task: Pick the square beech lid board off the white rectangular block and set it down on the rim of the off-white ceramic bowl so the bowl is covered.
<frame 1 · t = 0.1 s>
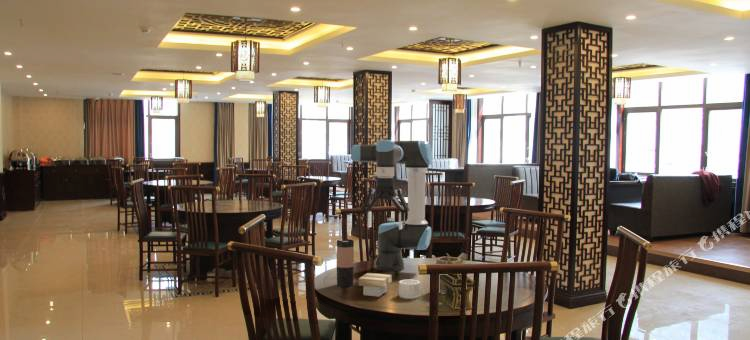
hand: (384, 228, 234), 28 cm above the table, fingers open, 13 cm apart
bowl: (409, 296, 233), on the table
travel mug: (345, 285, 251), on the table
tankard: (453, 290, 244), on the table
lid: (375, 283, 238), point 4 cm above the table, touching white rectangular block
white rectangular block: (375, 292, 238), on the table
decorative box: (455, 304, 223), on the table
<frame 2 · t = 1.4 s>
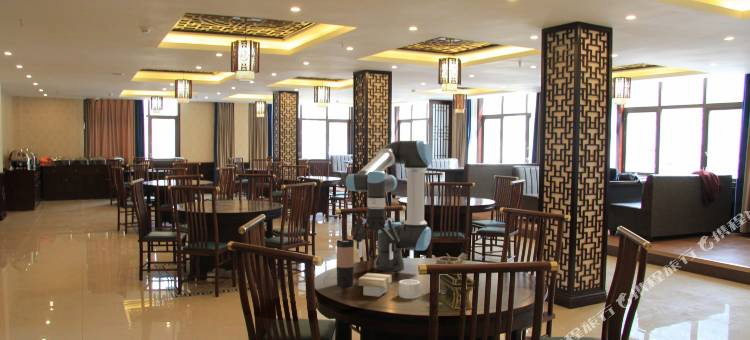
hand: (375, 258, 237), 15 cm above the table, fingers open, 13 cm apart
nothing on the table moved.
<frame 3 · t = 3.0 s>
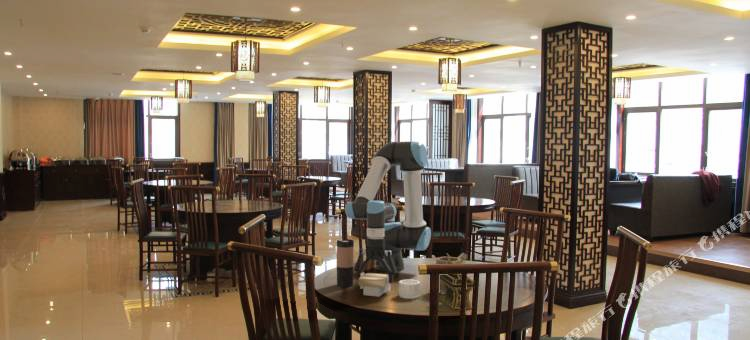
hand: (375, 289, 238), 2 cm above the table, fingers closed on lid, 11 cm apart
lid: (375, 283, 238), point 4 cm above the table, touching gripper, white rectangular block
everything else where it was.
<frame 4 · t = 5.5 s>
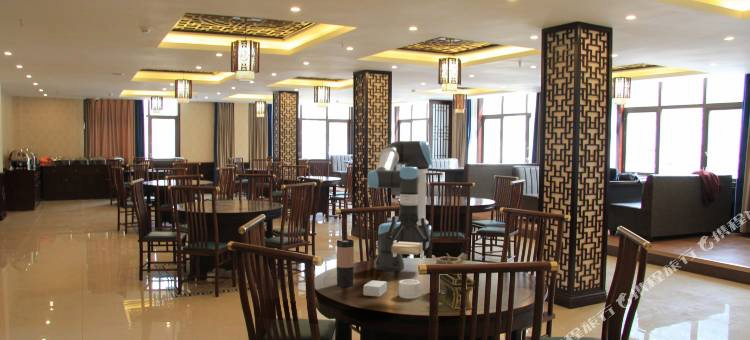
hand: (408, 257, 232), 16 cm above the table, fingers closed on lid, 11 cm apart
lid: (408, 251, 232), point 19 cm above the table, touching gripper
everything else where it was.
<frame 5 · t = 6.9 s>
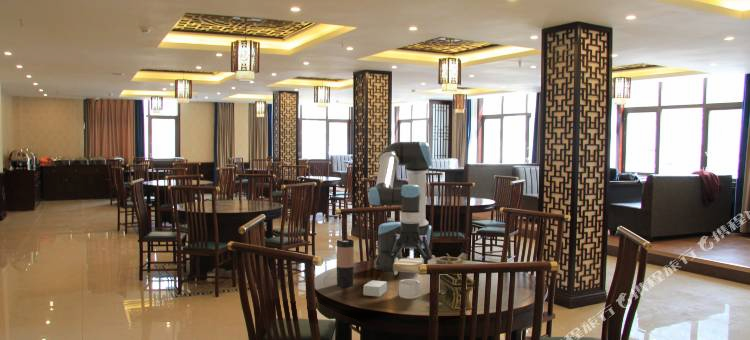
hand: (409, 275, 232), 9 cm above the table, fingers closed on lid, 11 cm apart
lid: (409, 269, 232), point 11 cm above the table, touching gripper
everything else where it was.
when the fingers open (5 cm above the table, at t = 8.2 s): lid drops 1 cm, resting on bowl.
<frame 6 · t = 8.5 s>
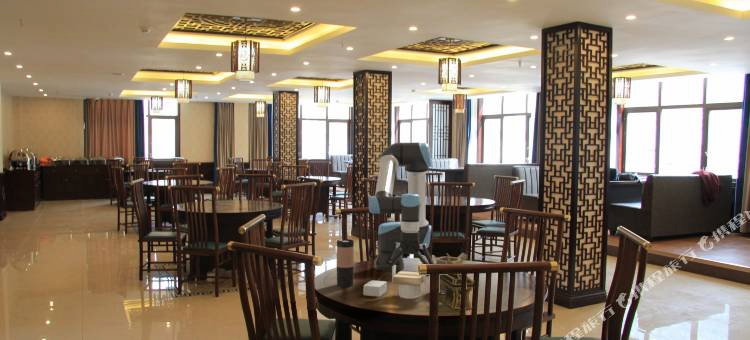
hand: (409, 282, 233), 6 cm above the table, fingers open, 13 cm apart
lid: (409, 281, 233), point 6 cm above the table, touching bowl
everything else where it was.
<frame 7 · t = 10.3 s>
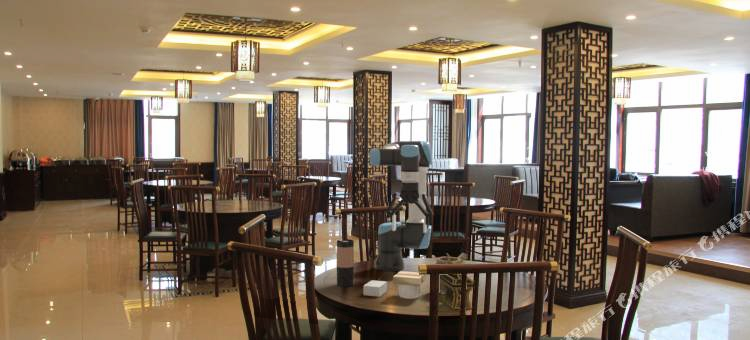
hand: (409, 231, 239), 26 cm above the table, fingers open, 13 cm apart
nothing on the table moved.
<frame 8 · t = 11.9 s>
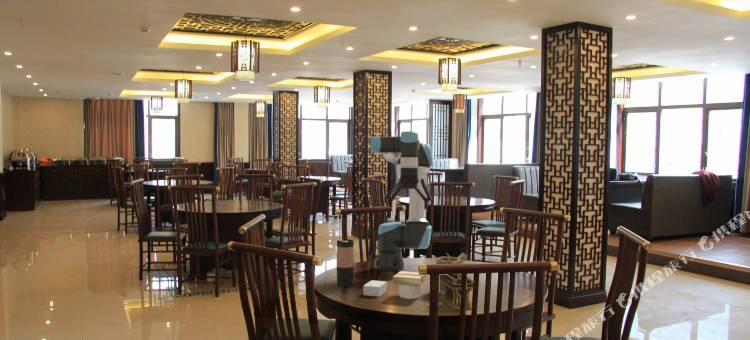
hand: (408, 216, 244), 32 cm above the table, fingers open, 13 cm apart
nothing on the table moved.
at the end: lid 0.0 cm off-centre on the bowl, point 6.0 cm above the bowl's base; lid touching bowl; the gripper is holding nothing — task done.
